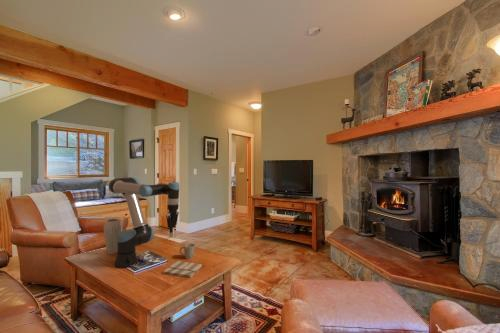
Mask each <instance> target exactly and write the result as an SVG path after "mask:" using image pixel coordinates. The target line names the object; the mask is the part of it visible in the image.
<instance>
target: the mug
mask: <svg viewBox="0 0 500 333" xmlns="http://www.w3.org/2000/svg"><path fill="white" fill-rule="evenodd" d="M195 248H196V245H195V244H194V243H186V244H184V245H183V246H180V248H179V254H180V255H182V256H184V258H185V259H186V260H192V259H193V258H194V254H195V250H196V249H195ZM182 249H183V252H184V253H183V252H182Z"/></svg>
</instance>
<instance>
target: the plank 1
mask: <svg viewBox="0 0 500 333" xmlns="http://www.w3.org/2000/svg"><path fill="white" fill-rule="evenodd" d="M188 264H189V262H187V261H181V260H176V261H175V262H174V263H172V264H171V265H169V267H168V268H173V269H180V270H183V268H184V267H185V266H187V265H188Z"/></svg>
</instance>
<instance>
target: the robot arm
mask: <svg viewBox="0 0 500 333" xmlns="http://www.w3.org/2000/svg"><path fill="white" fill-rule="evenodd" d="M107 187H108V190H109V191H110V192H111V193H112V194H122V197H123V198H125V200H126V203H127V208H128V211H129V215H130V218H131V221H132V225H133V227H132V228H131V229H125V230H122V232H120V233H119V234H118V239H117V241H118V249H117V253H116V256H115V260H114V267H115V268H118V269H124V268H129V267H128V266H130V265H133V264H135V263H137V262H138V263H139V258H138V256H137V252H136V249H137V248H136V247H138V246H142V245H144V244H147V243H149V242H151V241H152V240H153V238H154V235H155V232H154V228H153V227H152V226H150V225H149V223H147V222H146V221H145V220H146V219H145V216H144V214H143V210H142V206H141V203H140V199H139V196H140V197H141V198H142V197H143V198H148V197H154V196H160V195H166V196H167V206H166V207H167V210H168V214H167V215H165V217H166V218H165V219H166V222H167V228H168V229H169V234H168V235H169V237H170V238H174V237H175V228H177V224H178V217H179V214H180V212H179V211H178V210H179V206H180V205H179V201H180V199H179V198H180V183H179V182H175V181H169V182H168V183H161V182H160V183H155V184H143V183H142V184H141V183H140V182H139V179H137V178H136V177H117V178H114V179H111V180H110V181H109V183H108V186H107ZM138 195H139V196H138ZM138 263H137V264H138ZM135 265H136V264H135Z"/></svg>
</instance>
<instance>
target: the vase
mask: <svg viewBox="0 0 500 333" xmlns="http://www.w3.org/2000/svg"><path fill="white" fill-rule="evenodd" d="M122 223H123V222H122V221H121V220H120V219H119V218H111V219H108V220H106V221H105V223H104V224H103V235H104V241H105V249H106V254H107V255H114V254H115V255H116V254H117V249H118V241H117V239H118V234H119V233H120V232H122V231H123V224H122Z"/></svg>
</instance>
